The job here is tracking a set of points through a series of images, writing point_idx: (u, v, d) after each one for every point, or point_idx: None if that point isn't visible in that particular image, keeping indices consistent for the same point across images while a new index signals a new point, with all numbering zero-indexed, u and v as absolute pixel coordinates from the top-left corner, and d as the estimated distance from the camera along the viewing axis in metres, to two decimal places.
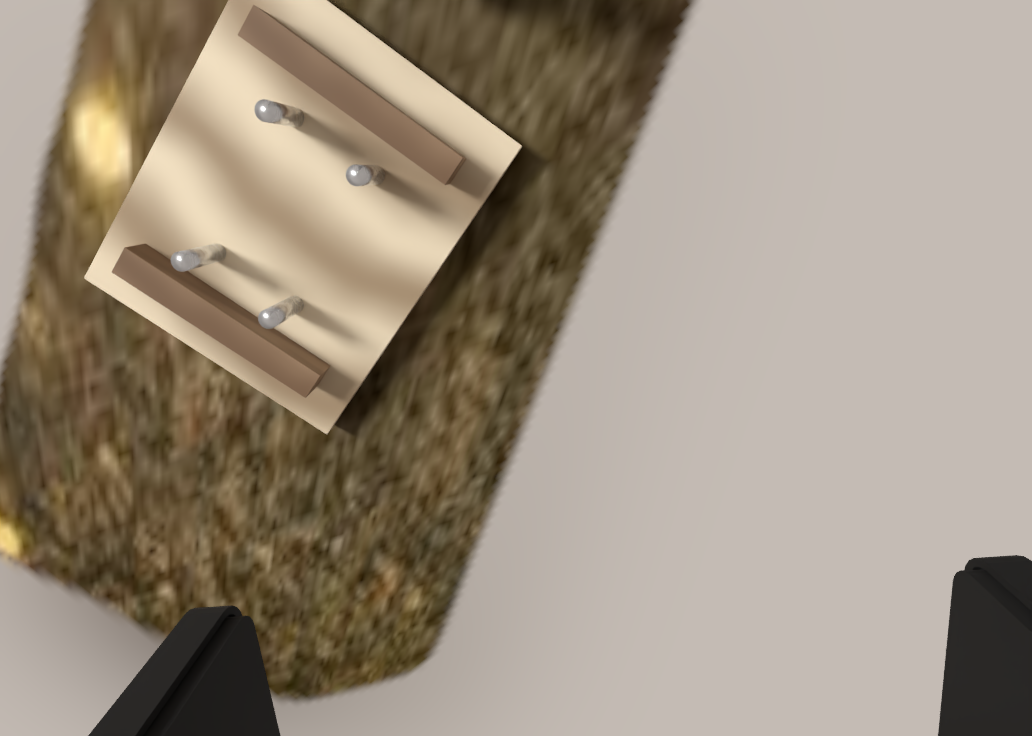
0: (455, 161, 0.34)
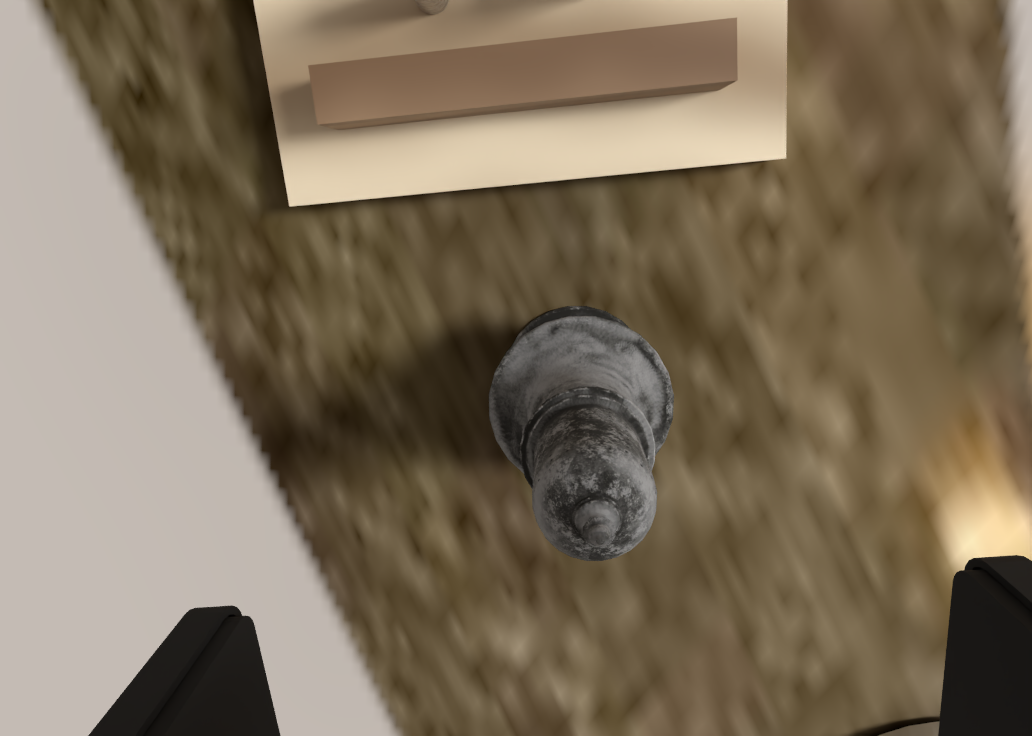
0: (322, 111, 0.20)
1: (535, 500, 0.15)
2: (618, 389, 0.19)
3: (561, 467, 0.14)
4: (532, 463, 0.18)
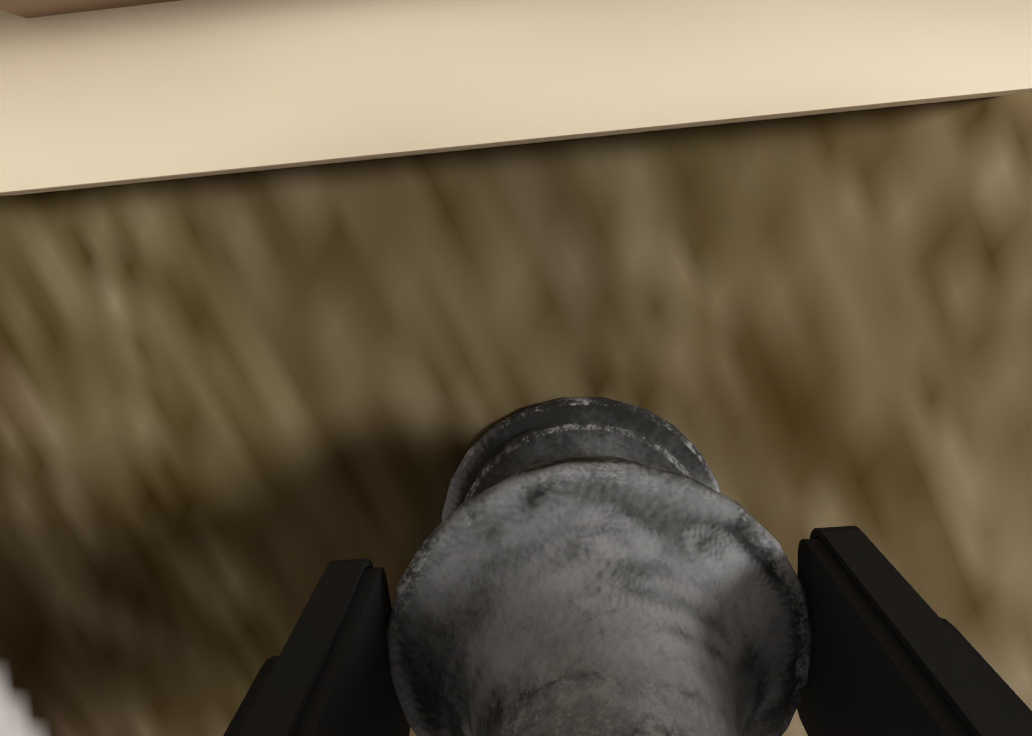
0: None
1: None
2: (705, 687, 0.07)
3: None
4: None
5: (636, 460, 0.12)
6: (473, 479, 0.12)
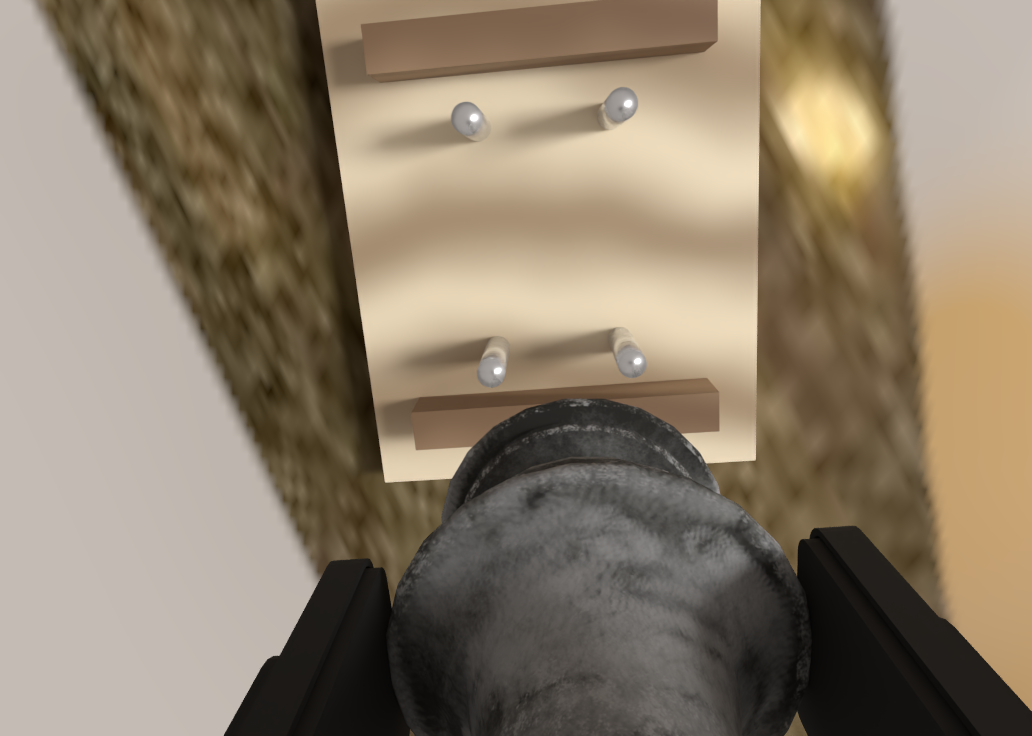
0: (419, 441, 0.27)
1: None
2: (705, 690, 0.07)
3: None
4: None
5: (636, 461, 0.12)
6: (473, 480, 0.12)
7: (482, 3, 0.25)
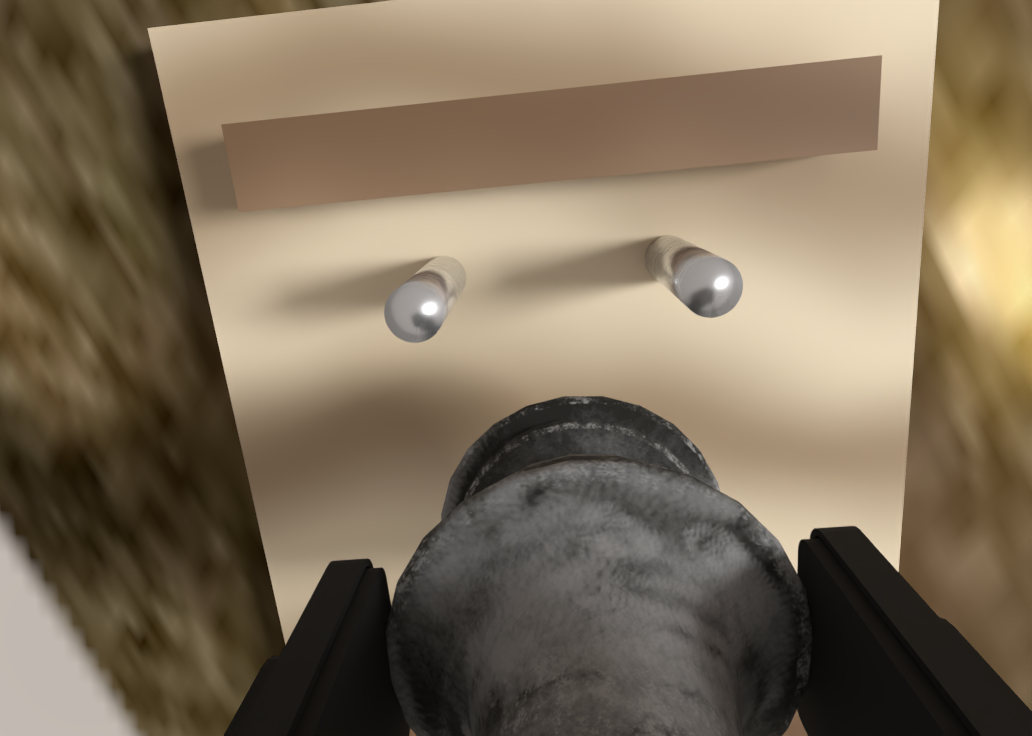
0: None
1: None
2: (705, 687, 0.07)
3: None
4: None
5: (636, 459, 0.12)
6: (473, 478, 0.12)
7: (446, 73, 0.14)
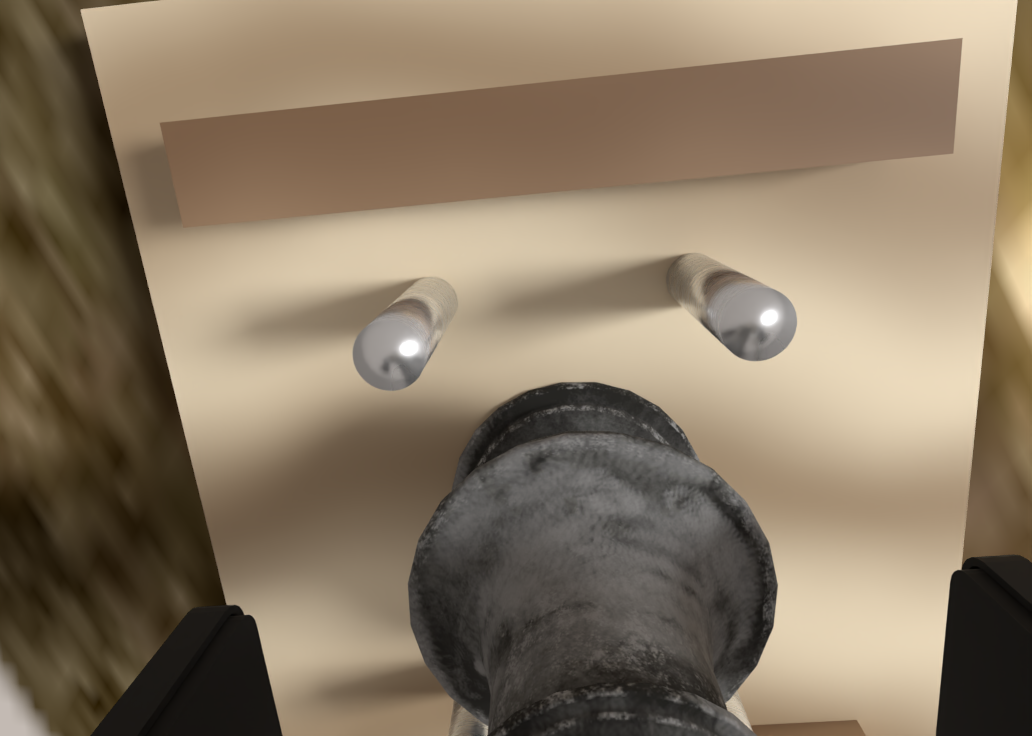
0: None
1: None
2: (680, 616, 0.09)
3: None
4: None
5: None
6: (480, 456, 0.14)
7: (433, 63, 0.12)
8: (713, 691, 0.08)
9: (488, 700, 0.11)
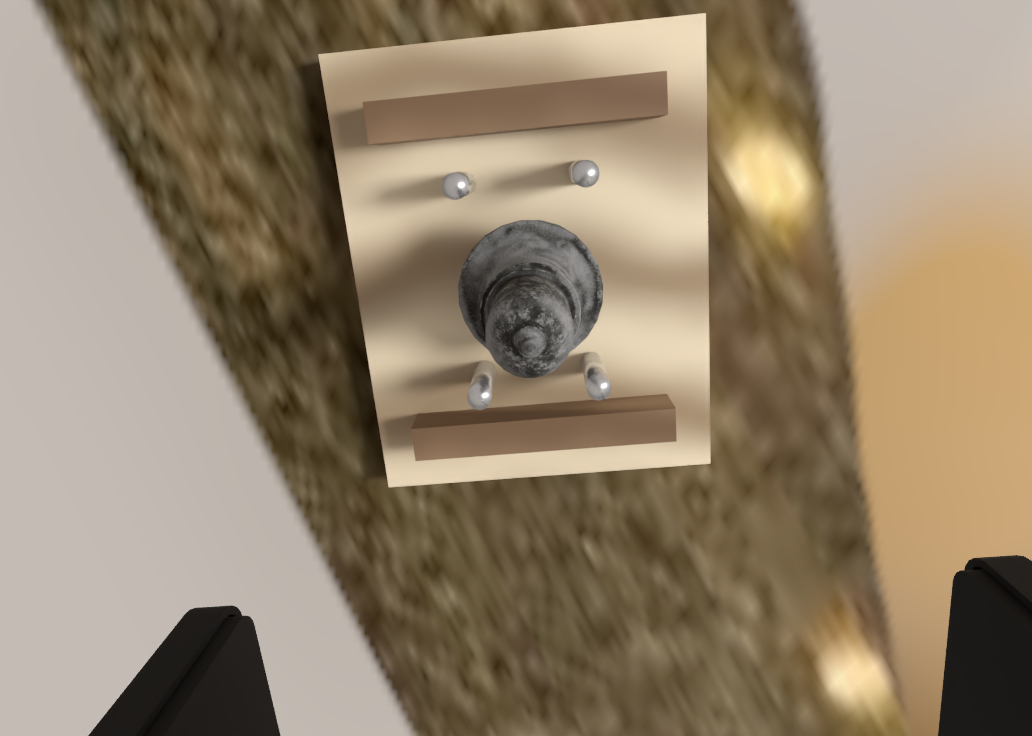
0: (418, 453, 0.31)
1: (487, 332, 0.21)
2: None
3: (504, 306, 0.20)
4: None
5: None
6: None
7: (466, 77, 0.28)
8: None
9: None
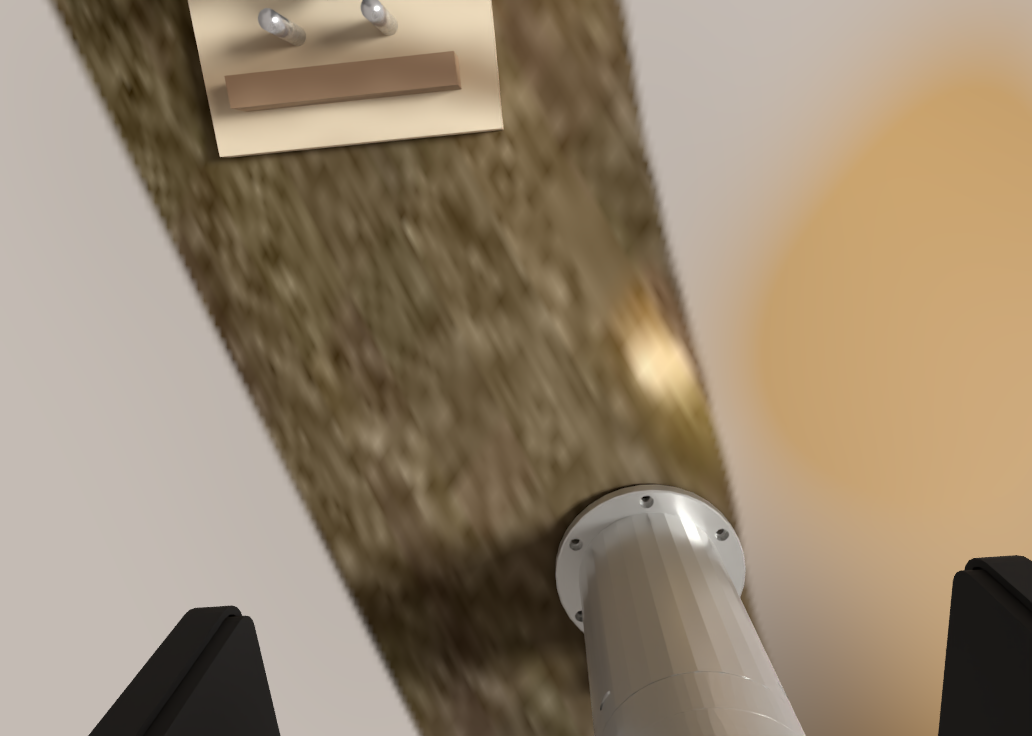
0: (233, 101, 0.35)
1: None
2: None
3: None
4: None
5: None
6: None
7: None
8: None
9: None
